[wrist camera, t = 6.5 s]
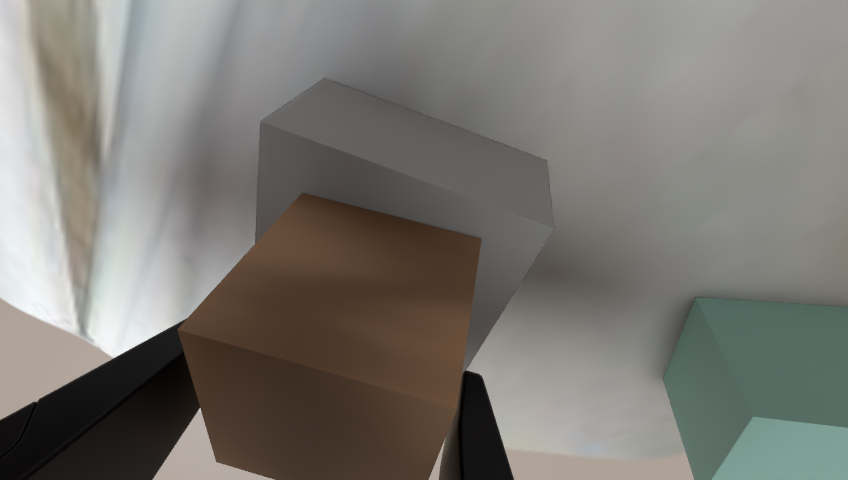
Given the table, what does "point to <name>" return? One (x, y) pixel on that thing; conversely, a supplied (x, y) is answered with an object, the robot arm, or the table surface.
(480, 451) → the robot arm
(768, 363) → the teal cube
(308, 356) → the walnut cube
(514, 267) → the slate block
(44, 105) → the table surface
